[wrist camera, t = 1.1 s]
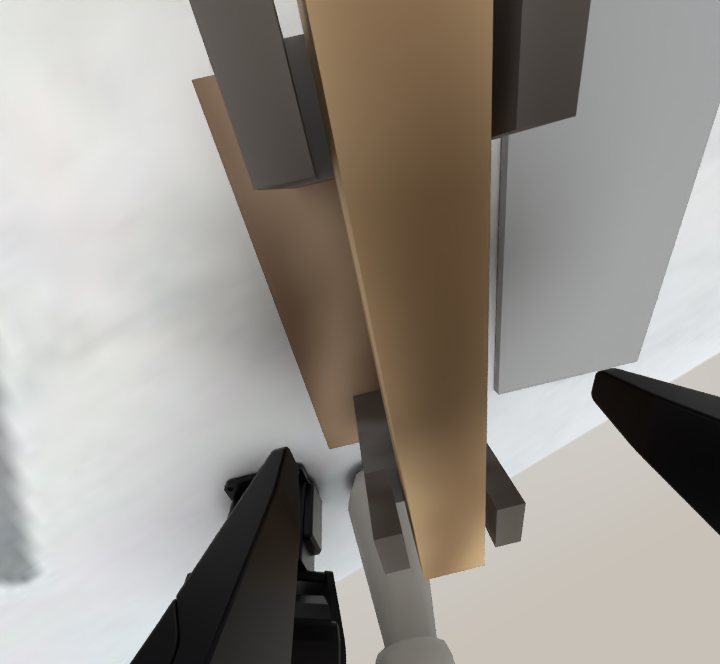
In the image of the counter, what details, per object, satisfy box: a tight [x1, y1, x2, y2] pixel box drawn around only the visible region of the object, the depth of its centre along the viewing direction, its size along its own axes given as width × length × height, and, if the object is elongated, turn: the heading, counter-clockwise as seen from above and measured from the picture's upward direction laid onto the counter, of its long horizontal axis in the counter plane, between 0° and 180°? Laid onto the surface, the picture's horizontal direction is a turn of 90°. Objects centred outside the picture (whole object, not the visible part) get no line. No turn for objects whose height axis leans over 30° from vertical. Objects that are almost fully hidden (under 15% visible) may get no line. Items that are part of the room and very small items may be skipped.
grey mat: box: [494, 0, 720, 395], centre depth 16 cm, size 11×24×1 cm, turn 12°
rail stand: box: [189, 0, 591, 574], centre depth 13 cm, size 12×22×10 cm, turn 12°
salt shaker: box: [348, 469, 455, 664], centre depth 20 cm, size 6×6×13 cm
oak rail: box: [297, 0, 493, 580], centre depth 10 cm, size 3×22×3 cm, turn 12°
